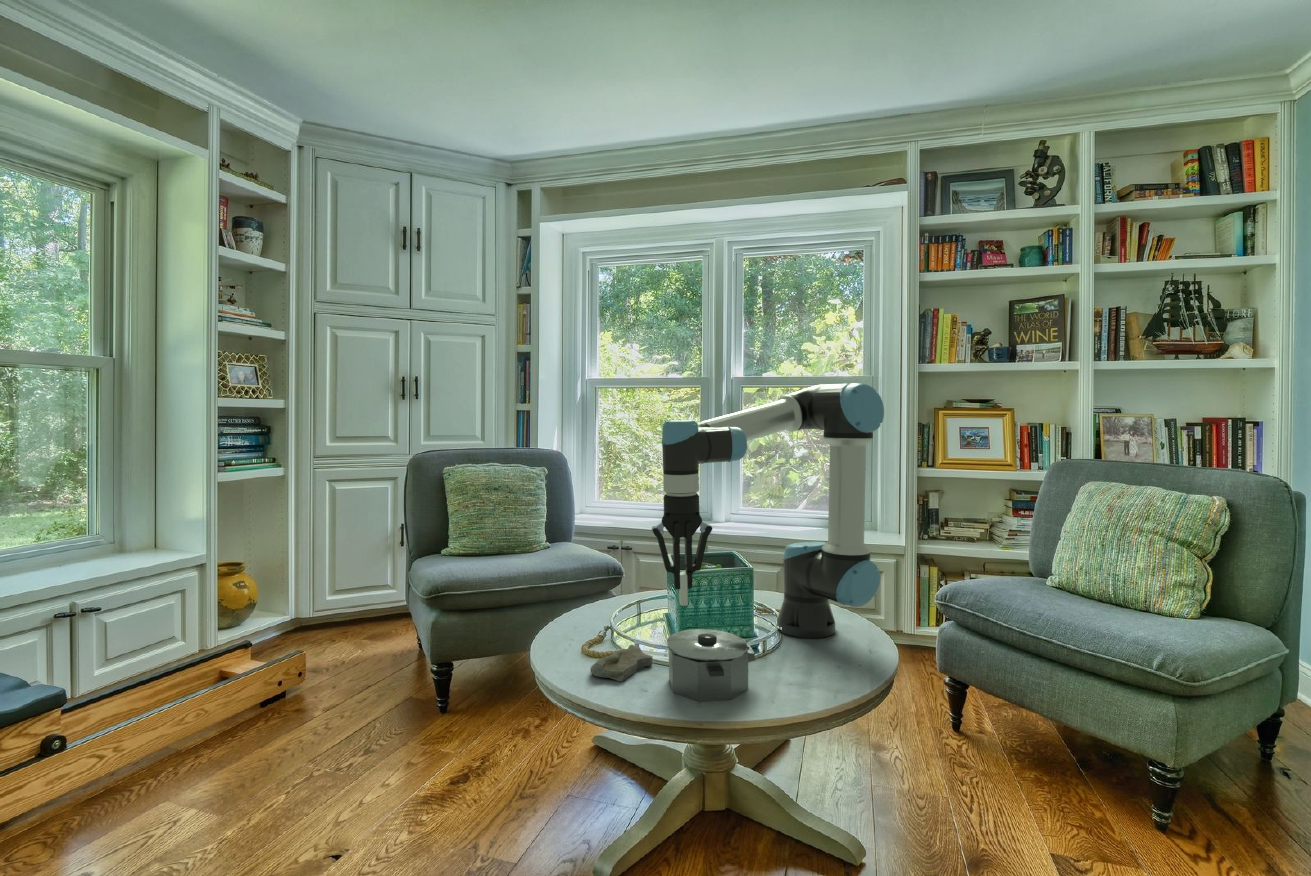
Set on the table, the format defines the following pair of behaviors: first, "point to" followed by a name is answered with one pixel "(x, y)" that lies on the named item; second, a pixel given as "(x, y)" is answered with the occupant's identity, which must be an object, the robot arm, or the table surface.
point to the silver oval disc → (707, 645)
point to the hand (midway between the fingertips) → (683, 603)
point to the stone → (621, 663)
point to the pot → (709, 677)
